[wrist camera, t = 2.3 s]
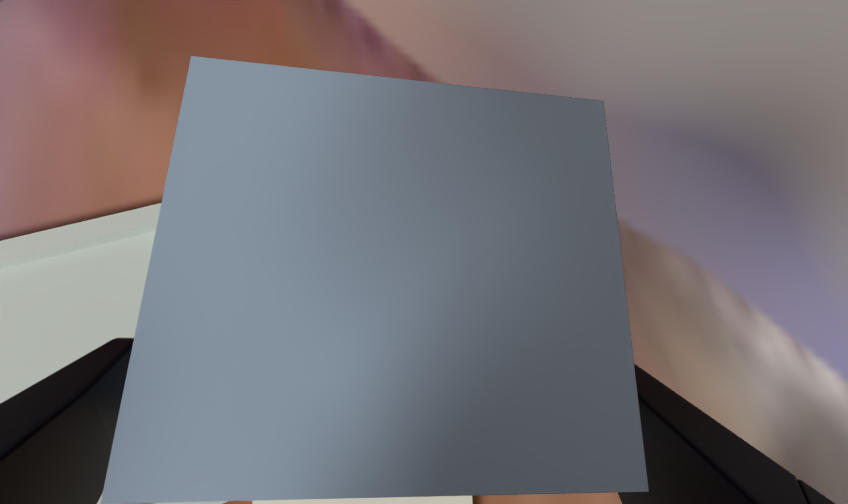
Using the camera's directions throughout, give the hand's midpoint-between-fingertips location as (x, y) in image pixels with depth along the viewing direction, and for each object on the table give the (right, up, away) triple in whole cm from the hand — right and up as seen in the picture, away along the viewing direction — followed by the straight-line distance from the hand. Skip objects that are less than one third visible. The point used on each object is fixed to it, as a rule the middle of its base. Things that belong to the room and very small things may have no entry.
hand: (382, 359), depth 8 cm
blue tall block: (-1, -2, +9) cm, 10 cm away
